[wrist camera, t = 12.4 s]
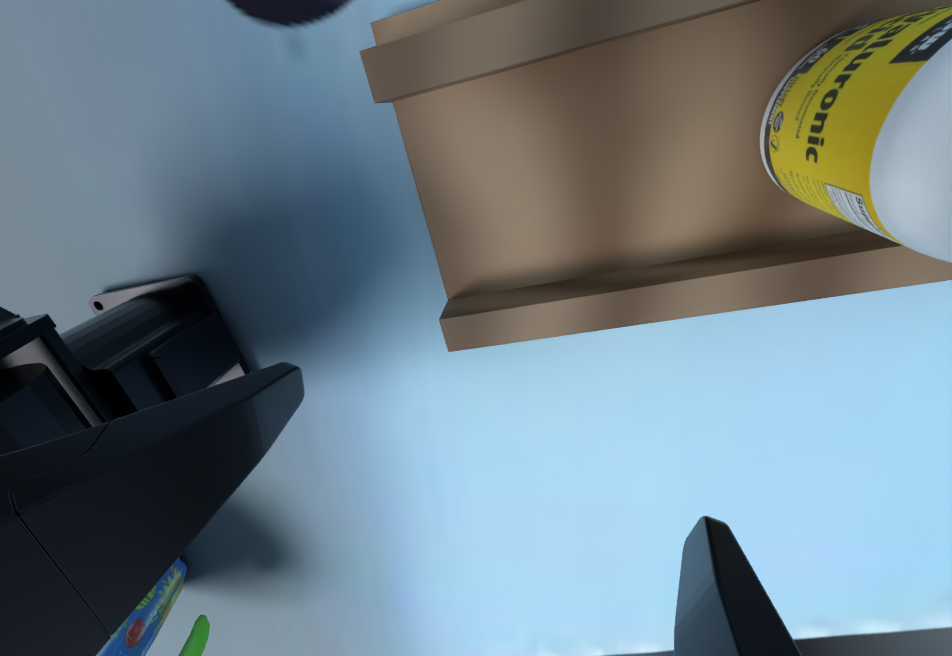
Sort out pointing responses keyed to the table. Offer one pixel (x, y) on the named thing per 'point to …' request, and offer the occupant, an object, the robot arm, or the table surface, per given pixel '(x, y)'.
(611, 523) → the table surface
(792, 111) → the supplement bottle
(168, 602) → the snack cup
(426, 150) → the walnut track
